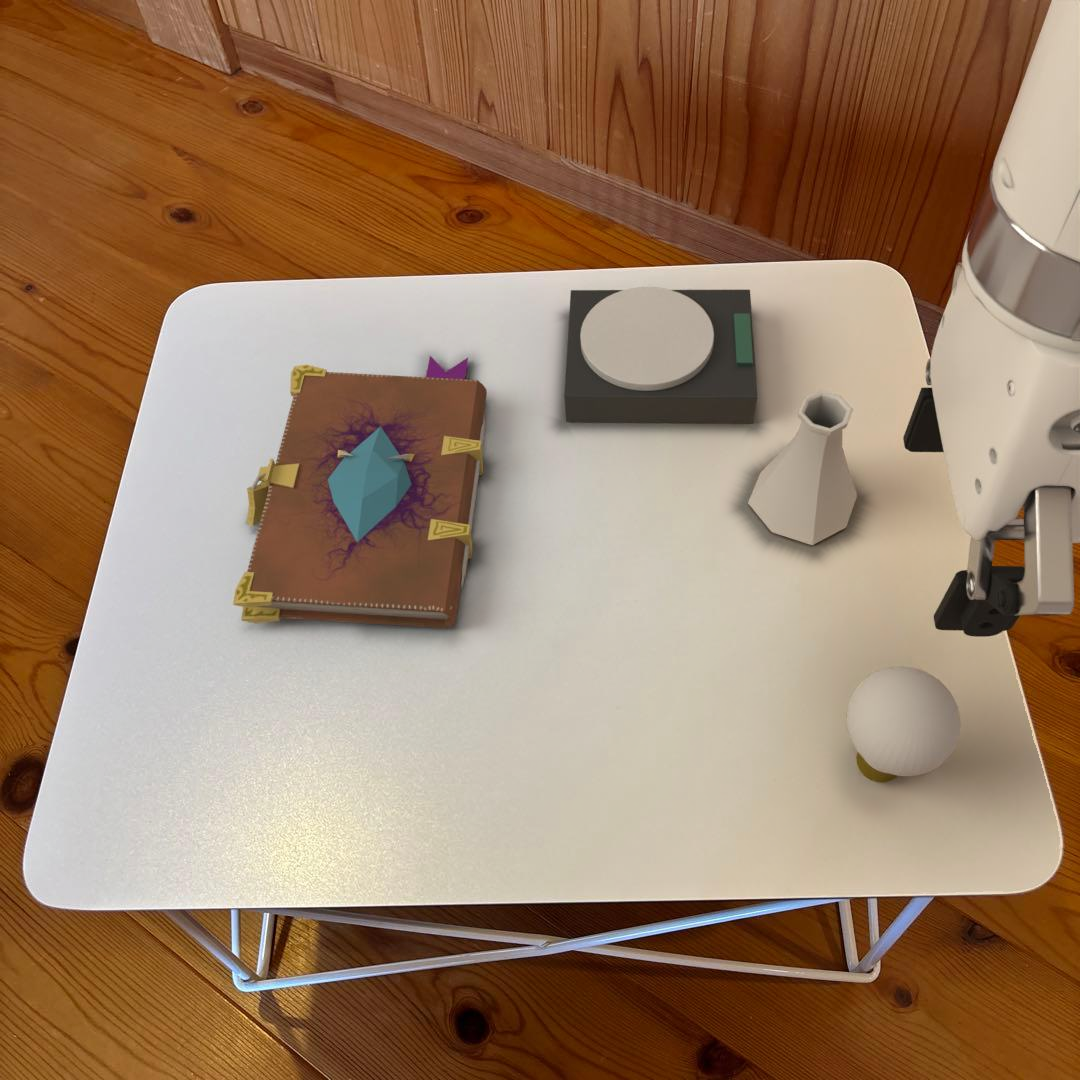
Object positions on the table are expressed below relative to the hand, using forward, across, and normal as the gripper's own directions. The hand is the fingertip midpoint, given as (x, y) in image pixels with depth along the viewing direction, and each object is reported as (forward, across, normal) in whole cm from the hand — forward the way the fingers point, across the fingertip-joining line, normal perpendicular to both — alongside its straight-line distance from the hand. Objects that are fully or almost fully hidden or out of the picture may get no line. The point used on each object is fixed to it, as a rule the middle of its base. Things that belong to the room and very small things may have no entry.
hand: (952, 530), depth 48 cm
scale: (+20, +28, +12) cm, 37 cm away
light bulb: (+21, -4, 0) cm, 21 cm away
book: (+21, +17, +34) cm, 43 cm away
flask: (+21, +16, +2) cm, 26 cm away
